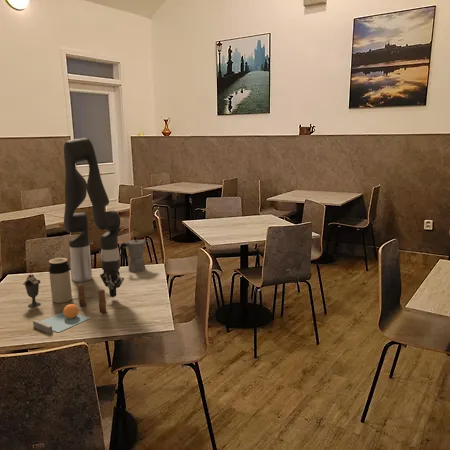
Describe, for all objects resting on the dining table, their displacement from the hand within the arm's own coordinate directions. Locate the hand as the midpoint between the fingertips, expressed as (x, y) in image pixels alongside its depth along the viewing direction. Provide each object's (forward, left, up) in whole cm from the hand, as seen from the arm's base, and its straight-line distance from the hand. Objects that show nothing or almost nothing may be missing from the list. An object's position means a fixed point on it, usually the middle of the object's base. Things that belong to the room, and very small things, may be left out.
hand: (113, 296), depth 181 cm
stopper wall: (0, -33, -2) cm, 34 cm away
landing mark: (0, -25, -2) cm, 25 cm away
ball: (0, -21, +1) cm, 21 cm away
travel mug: (-19, -12, -2) cm, 23 cm away
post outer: (+6, -11, -2) cm, 13 cm away
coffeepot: (-22, +34, -2) cm, 41 cm away
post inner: (-6, -11, -2) cm, 13 cm away
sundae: (-24, -22, -2) cm, 33 cm away
